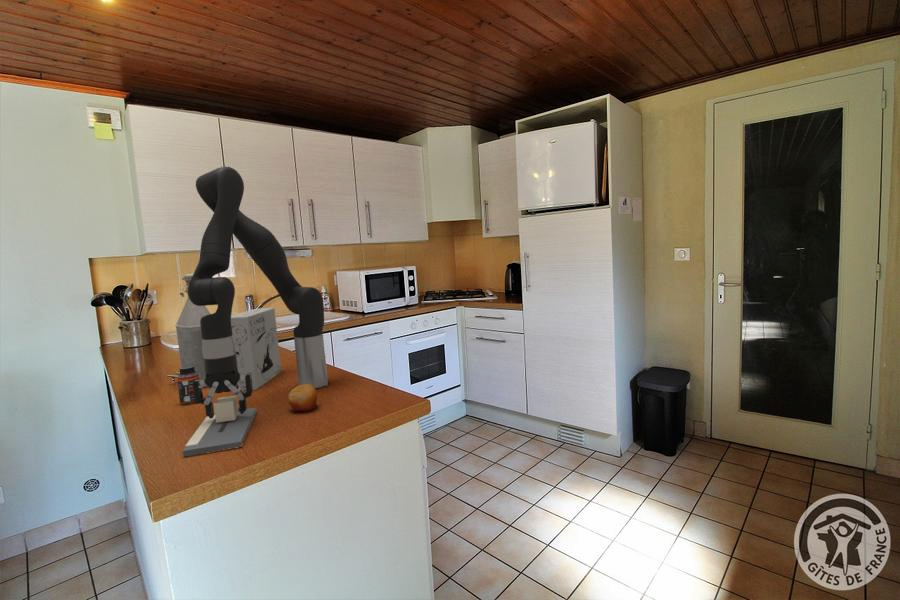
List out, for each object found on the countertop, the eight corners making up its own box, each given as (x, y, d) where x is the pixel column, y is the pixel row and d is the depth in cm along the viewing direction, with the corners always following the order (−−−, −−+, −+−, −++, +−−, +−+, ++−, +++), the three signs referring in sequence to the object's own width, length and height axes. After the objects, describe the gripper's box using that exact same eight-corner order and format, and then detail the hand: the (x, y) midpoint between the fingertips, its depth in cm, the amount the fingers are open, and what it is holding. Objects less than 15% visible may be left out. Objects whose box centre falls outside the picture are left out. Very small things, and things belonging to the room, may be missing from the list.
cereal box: (256, 390, 147) (247, 316, 144) (233, 391, 147) (224, 317, 144) (281, 372, 168) (274, 307, 166) (262, 373, 169) (254, 308, 166)
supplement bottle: (191, 405, 135) (187, 369, 134) (175, 405, 136) (170, 369, 135) (206, 398, 141) (201, 364, 140) (190, 398, 142) (185, 364, 141)
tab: (238, 413, 120) (236, 395, 119) (234, 419, 115) (232, 401, 114) (220, 416, 119) (218, 398, 118) (215, 422, 114) (213, 404, 113)
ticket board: (256, 412, 125) (255, 404, 125) (241, 447, 102) (240, 438, 102) (210, 419, 122) (209, 411, 122) (183, 457, 99) (182, 447, 99)
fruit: (327, 398, 130) (317, 379, 125) (315, 420, 124) (303, 401, 119) (304, 396, 133) (293, 378, 128) (291, 418, 127) (278, 400, 122)
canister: (214, 374, 171) (201, 272, 166) (230, 382, 159) (217, 272, 154) (176, 383, 162) (162, 275, 157) (191, 391, 150) (175, 275, 145)
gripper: (251, 347, 120) (258, 406, 122) (193, 354, 117) (201, 414, 118) (247, 353, 113) (254, 415, 115) (184, 360, 109) (193, 424, 111)
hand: (227, 415), depth 117 cm, fingers open, 7 cm apart
